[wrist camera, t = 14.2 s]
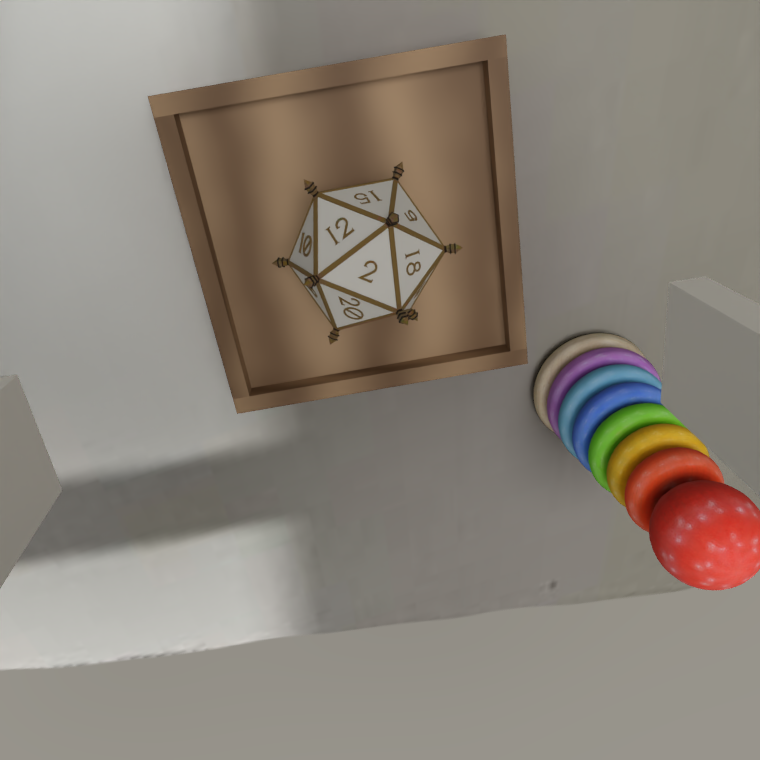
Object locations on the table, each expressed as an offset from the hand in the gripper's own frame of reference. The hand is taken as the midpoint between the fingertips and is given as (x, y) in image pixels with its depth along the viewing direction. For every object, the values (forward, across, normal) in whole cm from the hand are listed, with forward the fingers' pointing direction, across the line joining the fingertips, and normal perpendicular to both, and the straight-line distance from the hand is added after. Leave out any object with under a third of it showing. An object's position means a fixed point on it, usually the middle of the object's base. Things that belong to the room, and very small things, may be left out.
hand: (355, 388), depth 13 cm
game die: (+25, +1, -3) cm, 25 cm away
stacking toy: (+28, +15, -15) cm, 36 cm away
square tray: (+28, +1, -3) cm, 28 cm away
